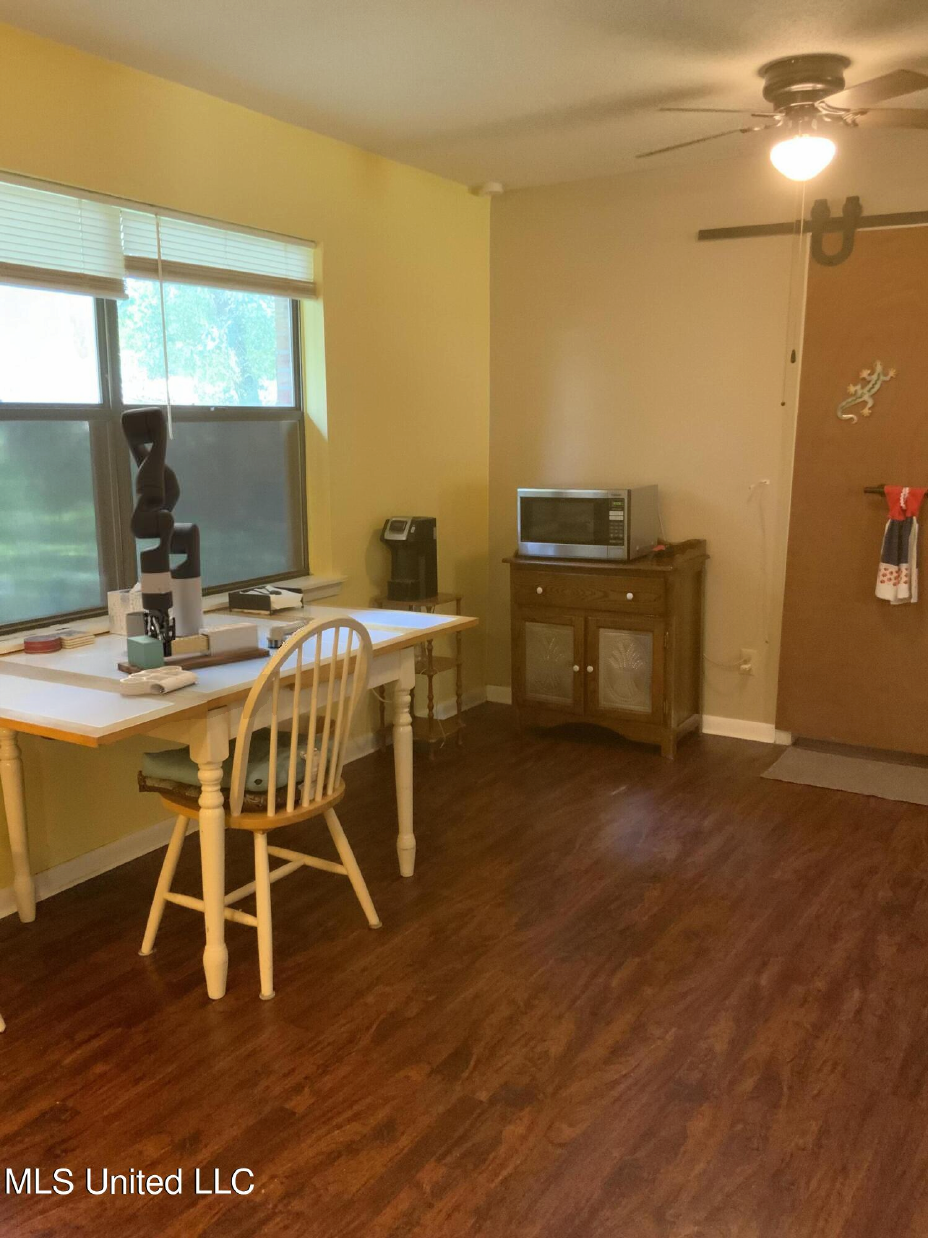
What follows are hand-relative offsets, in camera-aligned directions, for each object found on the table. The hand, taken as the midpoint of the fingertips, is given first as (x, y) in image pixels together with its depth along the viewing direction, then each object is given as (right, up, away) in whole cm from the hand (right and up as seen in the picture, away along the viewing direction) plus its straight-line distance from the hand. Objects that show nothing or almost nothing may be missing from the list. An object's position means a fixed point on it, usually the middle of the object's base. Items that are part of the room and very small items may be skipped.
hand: (161, 654), depth 262 cm
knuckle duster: (+5, -7, -19) cm, 21 cm away
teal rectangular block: (-3, -2, -2) cm, 5 cm away
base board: (+7, -2, +7) cm, 10 cm away
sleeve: (+15, +1, +13) cm, 19 cm away
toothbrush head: (+27, +3, +35) cm, 44 cm away
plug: (+4, 0, +4) cm, 6 cm away
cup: (-12, +1, +25) cm, 28 cm away
